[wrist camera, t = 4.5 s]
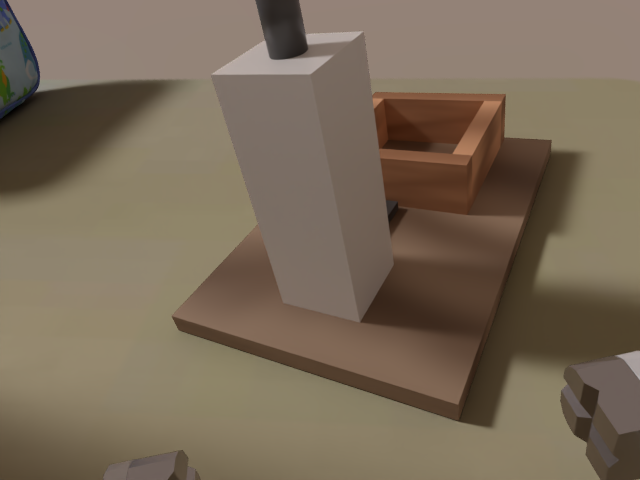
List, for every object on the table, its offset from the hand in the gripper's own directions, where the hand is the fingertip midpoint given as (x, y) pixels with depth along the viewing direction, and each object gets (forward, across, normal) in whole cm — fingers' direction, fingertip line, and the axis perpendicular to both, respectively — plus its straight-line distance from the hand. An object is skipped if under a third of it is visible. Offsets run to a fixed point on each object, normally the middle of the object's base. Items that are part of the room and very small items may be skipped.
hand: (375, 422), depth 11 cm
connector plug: (+12, 0, -6) cm, 14 cm away
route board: (+16, +3, -8) cm, 18 cm away
